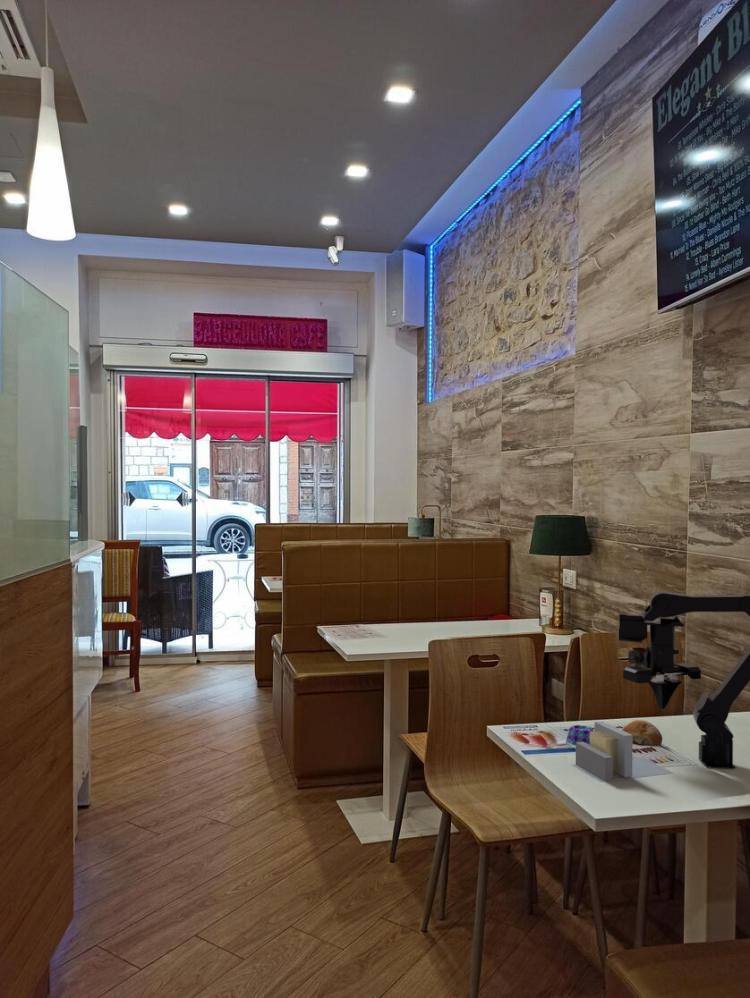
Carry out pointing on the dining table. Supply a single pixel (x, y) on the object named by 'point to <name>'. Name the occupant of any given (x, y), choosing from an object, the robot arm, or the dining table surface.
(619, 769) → the sliding jaw
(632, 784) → the dining table surface
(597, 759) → the plate
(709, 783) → the dining table surface
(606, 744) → the brass block
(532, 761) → the dining table surface
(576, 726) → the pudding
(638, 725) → the bread roll
